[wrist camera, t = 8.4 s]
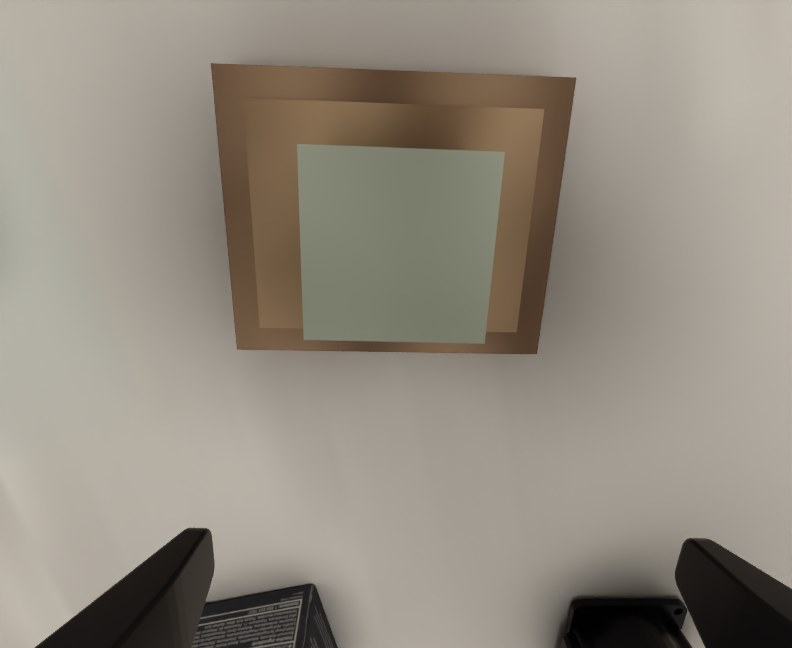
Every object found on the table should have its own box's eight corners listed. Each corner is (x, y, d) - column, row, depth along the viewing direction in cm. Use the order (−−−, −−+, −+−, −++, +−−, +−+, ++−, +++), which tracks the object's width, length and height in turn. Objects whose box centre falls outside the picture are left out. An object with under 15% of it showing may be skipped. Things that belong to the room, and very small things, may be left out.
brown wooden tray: (552, 87, 17) (578, 76, 15) (521, 334, 21) (538, 356, 18) (231, 75, 17) (209, 62, 15) (251, 330, 20) (235, 351, 18)
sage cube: (468, 154, 16) (505, 152, 11) (456, 294, 18) (484, 343, 13) (322, 149, 16) (297, 144, 11) (324, 291, 17) (303, 339, 13)
